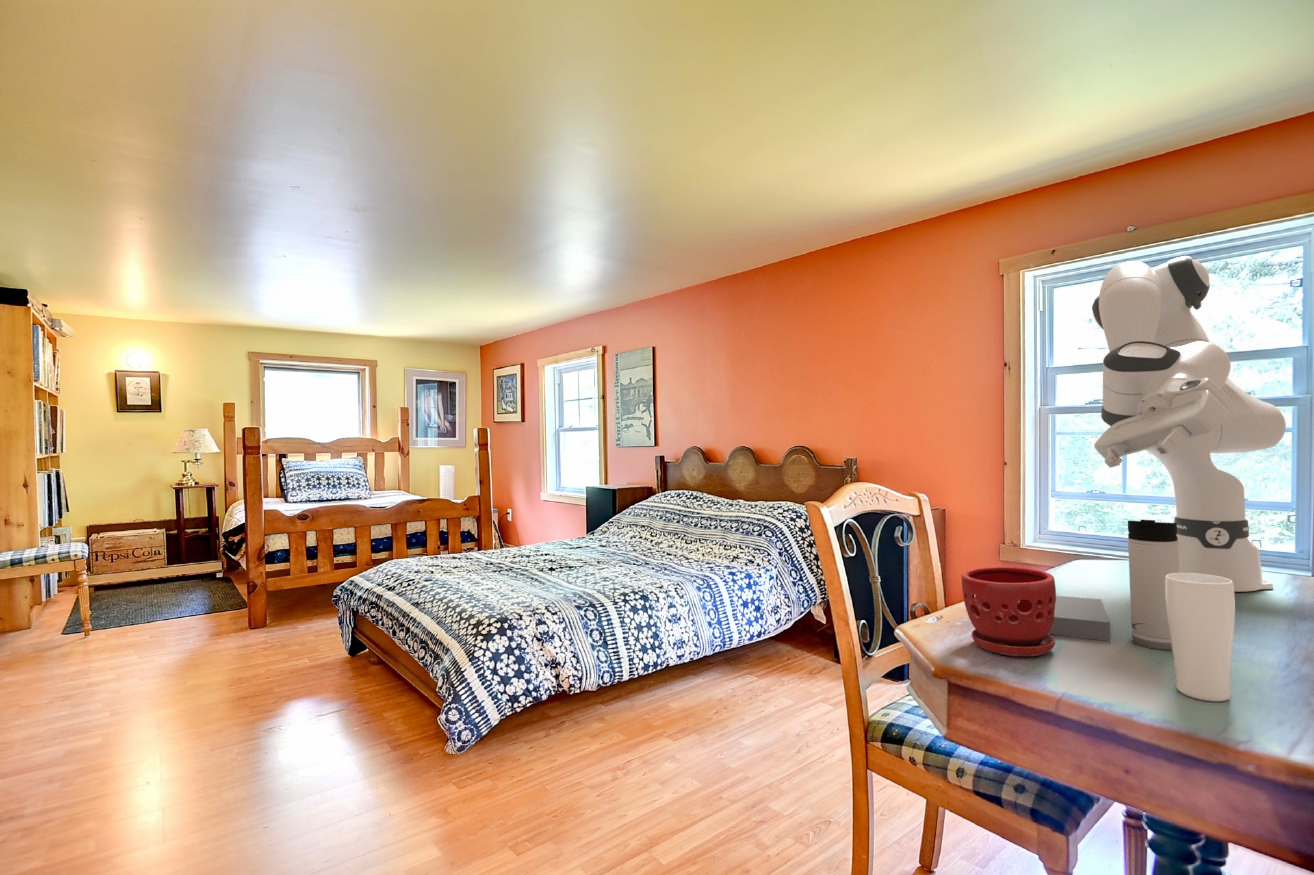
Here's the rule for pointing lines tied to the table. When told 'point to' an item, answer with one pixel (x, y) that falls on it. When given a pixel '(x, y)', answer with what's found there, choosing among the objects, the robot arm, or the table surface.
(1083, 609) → the gray rectangular block
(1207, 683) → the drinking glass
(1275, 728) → the table surface
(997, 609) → the plant pot
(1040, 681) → the table surface
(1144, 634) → the travel mug
